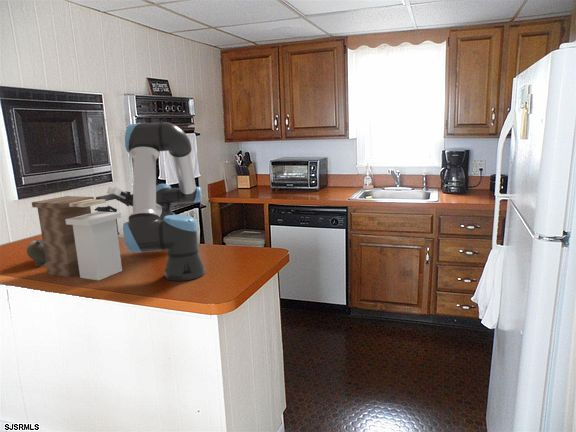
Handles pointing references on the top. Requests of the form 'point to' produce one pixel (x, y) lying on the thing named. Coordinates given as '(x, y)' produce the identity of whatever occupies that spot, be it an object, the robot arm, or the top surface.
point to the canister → (107, 209)
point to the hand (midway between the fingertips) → (111, 190)
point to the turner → (95, 200)
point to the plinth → (60, 233)
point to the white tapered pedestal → (97, 244)
